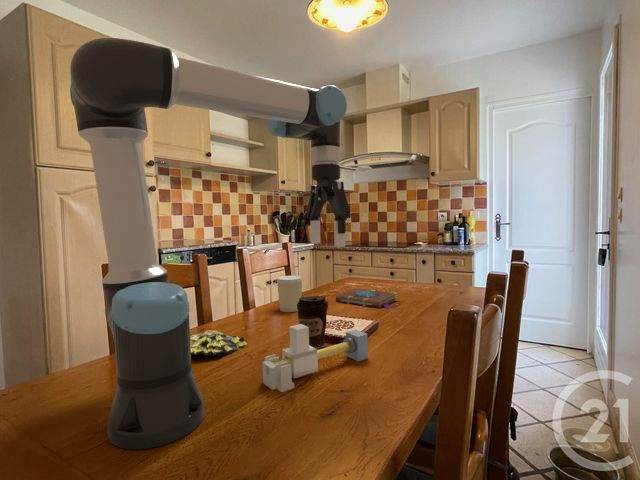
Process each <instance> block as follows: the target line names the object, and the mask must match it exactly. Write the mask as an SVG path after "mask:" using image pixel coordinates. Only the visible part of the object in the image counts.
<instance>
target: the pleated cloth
mask: <svg viewBox="0 0 640 480" xmlns="http://www.w3.org/2000/svg"><path fill="white" fill-rule="evenodd" d="M247 345H248V343H247V342H246V341H245V340H244V337H238V336H234V335H229V334H226V333H223V332H220V331H219V330H210V329H207V330H205V331H202V332H198V333H195V334H192V335H190V347H191V356H198V355H203V356H206V357H208V358H213V357H214V356H217V357H222V356H224V355H230V354H232V353H234V352H237V351H239V349H242V348H243V347H244V346H247Z"/></svg>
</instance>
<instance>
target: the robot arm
mask: <svg viewBox="0 0 640 480" xmlns="http://www.w3.org/2000/svg"><path fill="white" fill-rule="evenodd" d="M69 66H70V67H69V68H70V69H69V70H70V87H69V91H70V92H69V93H70V100H71V104H72V106H73V109H74V113H75V120H76V121H75V122H76V126H77V131H78V133H77V134H78V136H79V137H80V138H82V139H83V140H84V141H85V142H86V143H88V144H89V147H90V153H91V160H92V165H93V171H94V178H95V186H96V192H97V199H98V204H99V205H98V206H99V210H100V217H101V223H102V230H103V231H102V232H103V237H104V243H105V250H106V256H107V262H108V263H107V264H108V269H109V270H108V272H107V274H106V275H105V276H104V277H103V278H102V279H101V283H102V290H103V298H104V302H105V308H104V313H105V319H106V322H107V324H108V326H109V328H110V330H111V334H112V338H113V343H114V344H113V345H114V357H115V359H114V361H115V371H116V373H115V374H116V390H115V394H114V398H113V400H112V403H111V408H110V412H109V415H108V419H107V427H106V428H107V437H108V440H109V442H110V443H111V444H112V445H113V446H116V447H118V448H121V449H126V450H146V449H152V448H156V447H160V446H164V445H167V444H169V443H172V442H175V441H177V440H179V439H181V438H183V437H185V436H186V435H188V434H190V433H191V432H193V431H194V430H195V429H196V428H197V427H198V426H199V425H200V424H201V422H203V419H204V417H205V402H204V397H203V395H202V392H201V391H200V389H199V388H200V387H199V386H198V383H197V380H196V379H195V377H194V374H193V370H192V369H193V368H192V355H191V347H190V336H191V332H190V331H191V330H190V327H191V326H190V302H189V298H188V294H187V291H186V290H185V289H184V288H183V287H182V286H180V285H178V284H175V283H169V276H168V270H167V269H166V268H165V267H163V266H162V265H161V264H159V263H158V255H157V248H156V242H155V241H156V240H155V236H154V227H153V221H152V220H153V219H152V213H151V205H150V200H149V192H148V191H149V190H148V184H147V179H146V178H147V176H146V171H145V163H144V157H143V150H142V149H143V148H142V143H144V141H145V140H146V138H147V137H149V131H148V123H147V117H146V108H156V109H157V108H158V109H163V110H164V109H166V110H168V109H170V108H171V107H173V106H174V105H178V106H183V107H190V108H196V109H203V110H210V111H215V112H222V113H227V114H233V115H240V116H248V117H254V118H260V119H265V120H266V125H267V126H266V127H267V129H268V131H269V133H270V135H272V136H275V137H279V138H283V139H285V138H287V139H294V140H295V139H297V140H306V141H310V144H311V148H310V151H311V152H310V153H311V154H310V155H311V156H310V157H311V160H310V161H311V164H312V167H311V179H312V180H313V181H315V182H316V184H311V185H310V194H309V195H310V196H309V200H308V204H307V211H306V216H305V217H306V218H307V219H309V221H310V222H309V223H310V244H311V245H315V244H316V245H317V244H321V218H320V215H321V214H322V211H323V208H324V205H325V203H326V202H328V204H329V205H330V208H331V210H332V213H333V214H334V219H333V225H334V226H333V227H334V228H333V230H334V231H333V233H334V235H333V236H334V248H344V247H346V221H347V219H348V218H349V219H350V218H351V217H352V215H351V210H350V206H349V203H348V199H347V196H346V193H345V187H344V186H345V185H344V180H343V181H342V180H340V179H341V166H340V165H339V164H340V163H341V150H340V149H341V148H340V147H341V142H340V141H341V120H342V119H344V117H345V116H346V114H347V109H348V106H347V105H348V104H347V98H346V95H345V94H344V92H343V91H342V90H341V89H340V88H339V87H338V86H336V85H329V84H328V85H325V86H321V87H319V88H318V89H317V88H310V87H307V86H302V85H297V84H293V83H289V82H284V81H281V80H277V79H272V78H268V77H263V76H259V75H256V74H250V73H247V72H243V71H238V70H234V69H228V68H225V67H221V66H216V65H212V64H208V63H204V62H199V61H194V60H191V59H186V58H181V57H177V55H176V54H175V53H174V52H173V50H172V48H169V47H164V46H161V45H155V44H151V43H148V42H143V41H137V40H134V39H133V40H131V39H125V38H118V37H102V38H95V39H92V40H89V41H86V42H84V43H83V44H82V45H81V46H80V47H78V48H77V50H75V52H74V54H73V55H72V58H71V61H70V65H69Z"/></svg>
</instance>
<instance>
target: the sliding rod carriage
mask: <svg viewBox="0 0 640 480" xmlns="http://www.w3.org/2000/svg"><path fill="white" fill-rule="evenodd" d="M317 350H318V348H314V347H312V346H310V345H309V327H307V326H305V325H302V324H299V323H298V324H296V325H289V347H286V348H282V349H281V352H282V353H281V354H282V357H281V358H282V359H281V360H285V359H288V358H291V360H292V368H291V374H292V378H293V379H297V378H300V377H304V376H306V375H310V374H312V373H315V372H317V371H318V372H319V367H318V366H319V365H318V363H319V361H318V360H319V359H317Z"/></svg>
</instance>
